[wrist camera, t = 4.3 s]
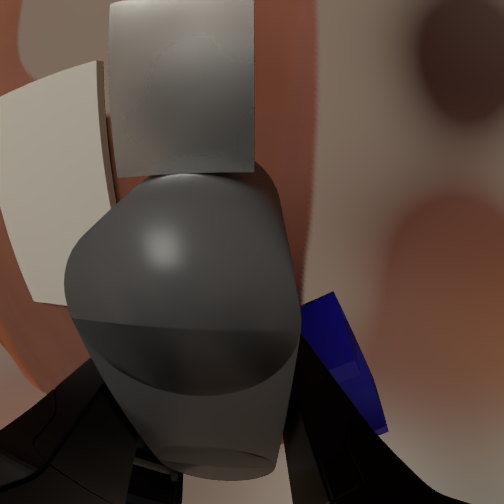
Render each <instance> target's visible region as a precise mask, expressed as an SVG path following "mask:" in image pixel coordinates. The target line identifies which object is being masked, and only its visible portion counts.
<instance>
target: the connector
mask: <svg viewBox="0 0 504 504" xmlns="http://www.w3.org/2000/svg"><path fill="white" fill-rule="evenodd" d="M109 18H110V19H109V95H110V112H111V125H112V136H113V145H114V154H115V163H116V170H117V178H123V177H135V176H148V177H147V178H146V179H145V180H144V181H142V182H141V183H140V184H139V185H138V186H136V187H135V188H134V189H133V190H132V191H131V192H129V193H128V194H127V195H126V196H125V197H124V198H123V199H121V200H120V201H119V202H118V203H117V204H116V205H115V206H114V207H113V208H111V209H110V210H109V211H108V212H107V213H106V214H105V215H104V216H103V217H102V218H101V219H100V220H99V221H97V222H96V223H95V224H94V225H93V226H92V227H91V228H90V229H89V230H88V231H87V232H86V233H85V234H84V235H83V236H82V237H81V238H80V239H79V240H78V242H77V243H76V245H75V246H74V248H73V249H72V251H71V254H70V256H69V258H68V260H67V264H66V268H65V274H64V291H65V298H66V302H67V307H68V309H69V312H70V315H71V317H72V320H73V322H74V324H75V326H76V328H77V330H78V332H79V335H80V337H81V339H82V341H83V343H84V345H85V347H86V349H87V351H88V352H89V354H90V356H91V358H92V360H93V362H94V364H95V366H96V367H97V369H98V371H99V373H100V374H101V376H102V378H103V380H104V381H105V383H106V385H107V386H108V388H109V390H110V391H111V393H112V395H113V396H114V398H115V399H116V401H117V403H118V404H119V406H120V407H121V409H122V410H123V412H124V413H125V415H126V416H127V418H128V419H129V421H130V422H131V424H132V425H133V427H134V428H135V429H136V431H137V432H138V434H139V435H140V436H141V438H142V439H143V440H144V442H145V443H146V444H147V446H148V447H149V448H150V450H151V451H152V452H153V453H154V455H155V456H156V457H157V459H158V460H159V461H160V462H161V463H163V464H164V465H166V466H167V467H169V468H171V469H173V470H176V471H178V472H181V473H184V474H187V475H191V476H195V477H200V478H205V479H212V480H225V481H237V480H249V479H255V478H259V477H263V476H266V475H268V474H270V473H271V472H273V470H274V469H275V466H276V462H277V457H278V453H279V448H280V444H281V439H282V434H283V429H284V424H285V419H286V414H287V409H288V404H289V399H290V393H291V388H292V382H293V376H294V370H295V364H296V358H297V352H298V346H299V339H300V333H301V311H300V304H299V298H298V292H297V287H296V281H295V275H294V270H293V264H292V259H291V254H290V248H289V243H288V238H287V232H286V227H285V222H284V217H283V212H282V207H281V202H280V198H279V194H278V191H277V189H276V187H275V185H274V183H273V181H272V179H271V178H270V176H269V175H268V173H267V172H266V171H265V170H264V169H263V168H262V167H261V166H260V165H259V164H258V163H257V162H255V0H124V1H120V2H117V3H113V4H110V17H109ZM149 175H150V176H149Z"/></svg>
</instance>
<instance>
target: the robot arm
mask: <svg viewBox="0 0 504 504" xmlns="http://www.w3.org/2000/svg"><path fill="white" fill-rule="evenodd" d="M283 440H284V446H285V452H286V460H287V467H288V473H289V479H290V487H291V493H292V500H293V504H469V503H466V502H463V501H460V500H457V499H454V498H451V497H448V496H445V495H443V494H440V493H438V492H437V491H435V490H433V489H432V488H431V487H429V486H428V485H427V484H426V483H424V482H423V481H422V480H421V479H420V478H419V477H418V476H417V475H416V474H415V473H414V472H413V471H412V470H411V469H410V468H409V467H408V466H407V465H406V464H405V463H404V462H403V461H402V460H401V459H400V458H399V457H398V456H397V455H396V454H395V453H394V452H393V451H392V450H391V449H390V448H389V447H388V446H387V445H386V444H385V443H384V442H383V441H382V439H380V437H379V436H378V435H377V434H376V432H375V431H374V430H373V429H372V427H371V426H370V425H369V424H368V422H367V421H366V420H365V418H364V417H363V416H362V414H361V413H359V410H358V409H357V408H356V406H355V405H354V404H353V402H352V401H351V400H350V398H349V397H348V396H347V394H346V393H345V392H344V390H343V389H342V388H341V386H340V385H339V384H338V382H337V381H336V380H335V378H334V377H333V376H332V374H331V373H330V372H329V370H328V369H327V368H326V366H325V365H324V364H323V362H322V361H321V359H320V358H319V357H318V355H317V354H316V353H315V351H314V350H313V349H312V347H311V346H310V345H309V343H308V342H307V341H306V339H305V338H304V337H303V335H302V334H301V333H300V339H299V346H298V352H297V358H296V364H295V370H294V376H293V382H292V388H291V393H290V399H289V404H288V409H287V414H286V419H285V424H284V429H283ZM182 490H183V473H181V472H178V471H176V470H173V469H171V468H169V467H167V466H166V465H164V464H163V463H161V462H160V461H159V460H158V459H157V457H156V456H155V455H154V453H153V452H152V451H151V450H150V448H149V447H148V446H147V444H146V443H145V442H144V440H143V439H142V438H141V436H140V435H139V434H138V432H137V431H136V429H135V428H134V427H133V425H132V424H131V422H130V421H129V419H128V418H127V416H126V415H125V413H124V412H123V410H122V409H121V407H120V406H119V404H118V403H117V401H116V399H115V398H114V396H113V395H112V393H111V391H110V390H109V388H108V386H107V385H106V383H105V381H104V380H103V378H102V376H101V374H100V373H99V371H98V369H97V367H96V366H95V364H94V362H93V360H92V358H91V357H90V358H89V359H88V360H87V361H86V362H84V363H83V364H82V365H81V366H80V367H79V368H77V369H76V370H75V371H74V372H73V373H72V374H70V375H69V376H68V377H67V378H66V379H65V380H63V381H62V382H61V383H60V384H59V385H58V386H57V387H56V388H55V389H53V390H52V391H51V392H50V393H48V394H47V395H46V396H45V397H44V398H43V399H42V400H40V401H39V402H38V403H37V404H35V405H34V406H33V407H32V408H30V409H29V410H28V411H26V412H25V413H24V414H23V415H21V416H20V417H18V418H17V419H15V420H14V421H13V422H11V423H10V424H8V425H7V426H6V427H4V428H3V429H1V430H0V504H181V503H182Z"/></svg>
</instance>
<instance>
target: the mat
mask: <svg viewBox="0 0 504 504" xmlns="http://www.w3.org/2000/svg"><path fill="white" fill-rule="evenodd" d="M115 205H116V198H115V192H114V185H113V179H112V171H111V164H110V156H109V147H108V138H107V127H106V114H105V100H104V71H103V61H97V60H96V61H93V62H89V63H85V64H82V65H79V66H76V67H73V68H70V69H66V70H64V71H61V72H58V73H55V74H52V75H50V76H47V77H45V78H42V79H39V80H37V81H34V82H32V83H29V84H27V85H25V86H22V87H20V88H18V89H16V90H14V91H11V92H9V93H7V94H5V95H3V96H1V97H0V207H1V211H2V215H3V218H4V222H5V225H6V229H7V232H8V235H9V238H10V241H11V244H12V247H13V250H14V253H15V256H16V259H17V261H18V264H19V267H20V269H21V272H22V274H23V277H24V279H25V282H26V284H27V287H28V289H29V291H30V293H31V296H32V298H33V300H34V301H35V302H43V303H50V304H58V305H66V306H67V302H66V298H65V291H64V274H65V268H66V264H67V260H68V258H69V256H70V254H71V251H72V249H73V248H74V246H75V245H76V243H77V242H78V240H79V239H80V238H81V237H82V236H83V235H84V234H85V233H86V232H87V231H88V230H89V229H90V228H91V227H92V226H93V225H94V224H95V223H96V222H97V221H99V220H100V219H101V218H102V217H103V216H104V215H105V214H106V213H107V212H108V211H109V210H110V209H111V208H113V207H114V206H115Z"/></svg>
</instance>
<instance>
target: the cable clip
mask: <svg viewBox="0 0 504 504" xmlns="http://www.w3.org/2000/svg"><path fill="white" fill-rule="evenodd" d="M300 311H301V334H302V335H303V337H304V338H305V339H306V341H307V342H308V343H309V345H310V346H311V347H312V349H313V350H314V351H315V353H316V354H317V355H318V357H319V358H320V359H321V361H322V362H323V364H324V365H325V366H326V368H327V369H328V370H329V372H330V373H331V374H332V376H333V377H334V378H335V380H336V381H337V382H338V384H339V385H340V386H341V388H342V389H343V390H344V392H345V393H346V394H347V396H348V397H349V398H350V400H351V401H352V402H353V404H354V405H355V406H356V408H357V409H358V410H359V413H361V414H362V416H363V417H364V418H365V420H366V421H367V422H368V424H369V425H370V426H371V427H372V429H373V430H374V431H375V432H376V434H377V435H381V434H384V433H386V432H388V428H387V424H386V420H385V416H384V413H383V409H382V406H381V402H380V399H379V395H378V392H377V389H376V385H375V383H374V379H373V376H372V374H371V372H370V369H369V367H368V365H367V363H366V360H365V358H364V356H363V354H362V351H361V350H360V347H359V345H358V342H357V340H356V338H355V336H354V334H353V331H352V329H351V327H350V325H349V323H348V321H347V319H346V316H345V314H344V312H343V310H342V308H341V306H340V304H339V302H338V300H337V298H336V296H335V293H334V291H332V292H330V293H328V294H326V295H323V296H321V297H319V298H317V299H314V300H312V301H310V302H307V303H305V304H303V307H301V308H300Z"/></svg>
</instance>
